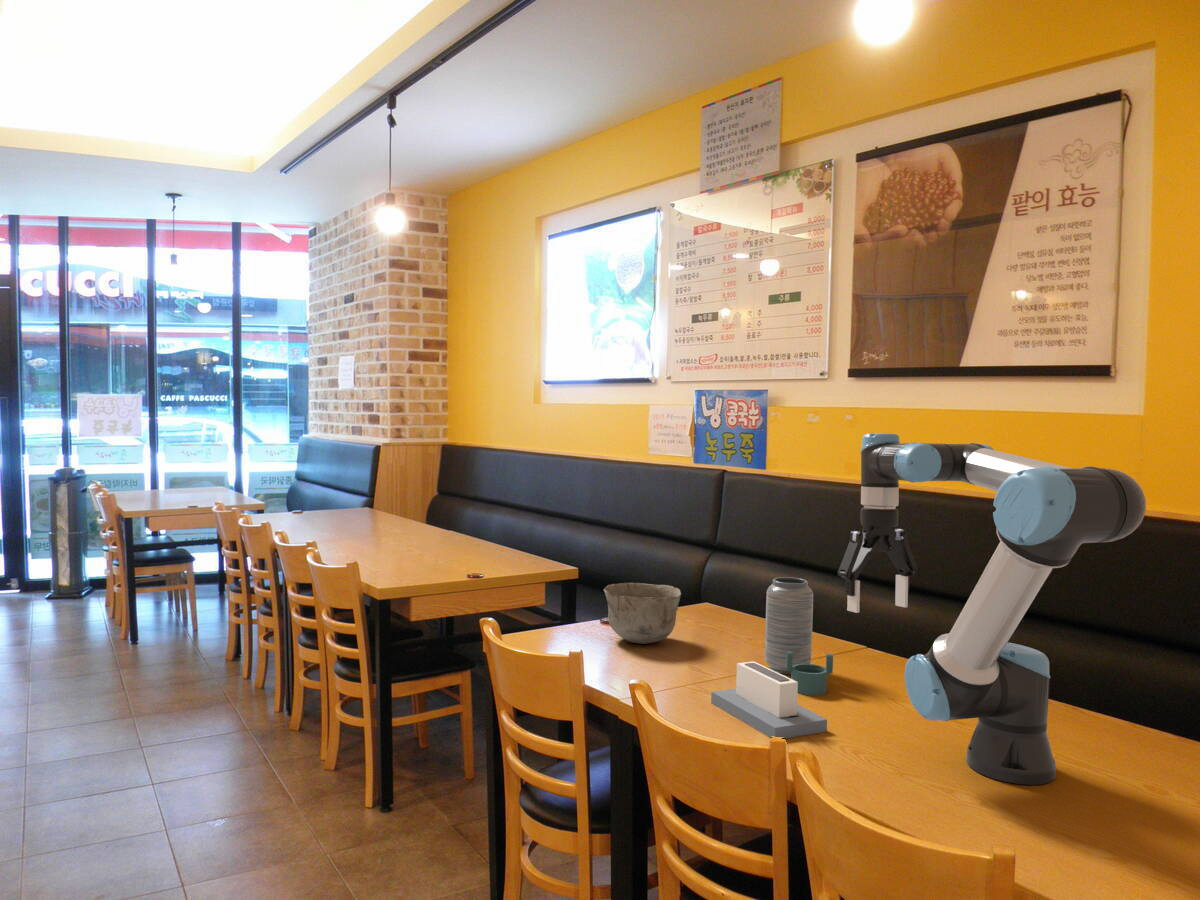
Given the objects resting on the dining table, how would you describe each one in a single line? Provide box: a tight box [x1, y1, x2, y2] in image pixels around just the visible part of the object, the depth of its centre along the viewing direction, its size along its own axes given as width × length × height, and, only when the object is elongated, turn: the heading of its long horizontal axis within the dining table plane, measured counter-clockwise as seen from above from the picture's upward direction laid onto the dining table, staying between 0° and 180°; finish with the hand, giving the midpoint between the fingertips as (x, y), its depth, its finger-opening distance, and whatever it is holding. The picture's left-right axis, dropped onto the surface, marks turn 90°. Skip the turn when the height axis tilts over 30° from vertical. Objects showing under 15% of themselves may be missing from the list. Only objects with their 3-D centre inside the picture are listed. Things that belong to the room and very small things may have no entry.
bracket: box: [786, 651, 834, 697], centre depth 209 cm, size 9×9×9 cm
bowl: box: [603, 582, 682, 645], centre depth 248 cm, size 22×22×15 cm
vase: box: [764, 576, 814, 675], centre depth 224 cm, size 12×12×23 cm
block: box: [735, 660, 799, 719], centre depth 190 cm, size 16×4×9 cm, turn 24°
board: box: [710, 688, 828, 739], centre depth 189 cm, size 24×13×2 cm, turn 24°
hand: (877, 609), depth 183 cm, fingers open, 13 cm apart
